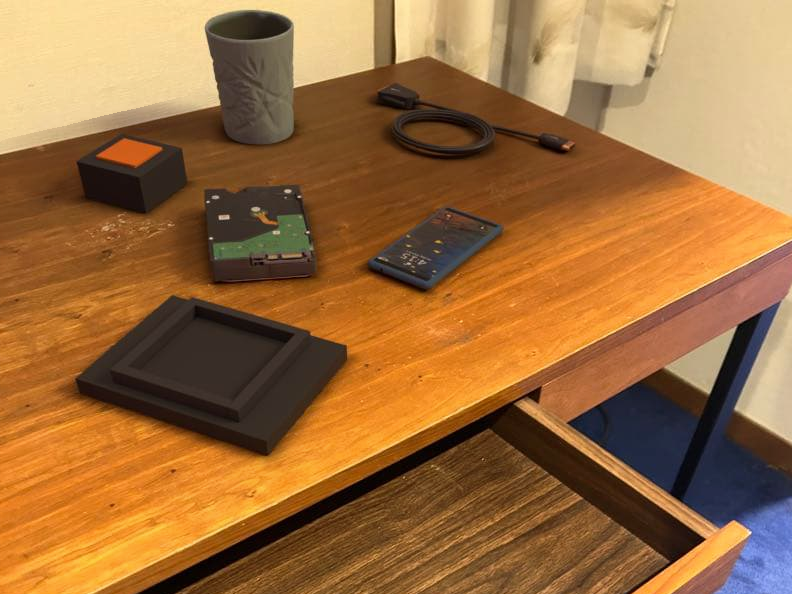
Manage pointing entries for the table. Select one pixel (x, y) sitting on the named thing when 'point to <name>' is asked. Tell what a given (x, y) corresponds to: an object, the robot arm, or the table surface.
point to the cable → (410, 99)
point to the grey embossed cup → (253, 74)
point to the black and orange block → (132, 172)
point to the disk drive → (258, 233)
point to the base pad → (216, 372)
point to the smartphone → (435, 247)
